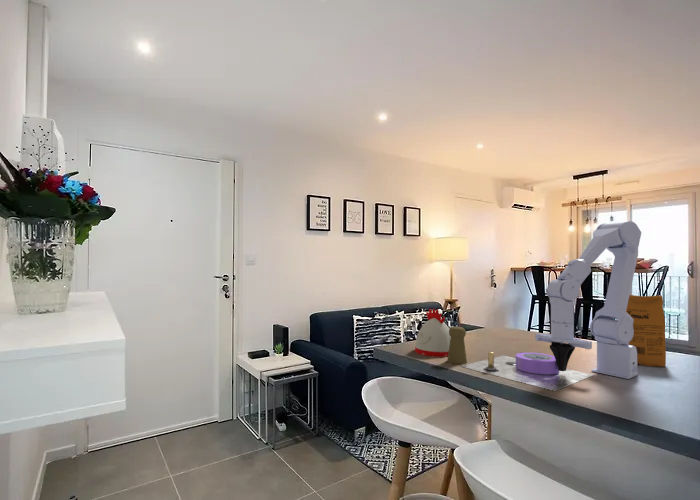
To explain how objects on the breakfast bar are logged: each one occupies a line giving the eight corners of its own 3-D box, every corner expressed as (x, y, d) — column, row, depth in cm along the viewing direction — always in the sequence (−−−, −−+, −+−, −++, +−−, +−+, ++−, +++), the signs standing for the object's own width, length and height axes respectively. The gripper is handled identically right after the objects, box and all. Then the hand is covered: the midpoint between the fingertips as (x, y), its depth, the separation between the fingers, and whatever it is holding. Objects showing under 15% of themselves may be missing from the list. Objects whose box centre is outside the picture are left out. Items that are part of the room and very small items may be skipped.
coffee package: (615, 357, 134) (615, 292, 135) (661, 362, 128) (660, 294, 129) (619, 363, 125) (619, 294, 126) (668, 369, 120) (668, 296, 120)
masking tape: (507, 365, 120) (507, 352, 121) (539, 363, 123) (539, 351, 123) (533, 376, 109) (533, 362, 109) (568, 373, 112) (568, 360, 112)
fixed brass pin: (498, 370, 115) (498, 352, 115) (492, 371, 113) (492, 354, 113) (489, 367, 117) (489, 351, 117) (484, 369, 115) (484, 352, 115)
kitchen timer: (434, 346, 147) (434, 306, 148) (464, 353, 136) (464, 310, 136) (407, 350, 139) (407, 308, 140) (435, 358, 128) (436, 312, 129)
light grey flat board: (594, 375, 111) (594, 374, 111) (554, 391, 97) (554, 390, 97) (503, 355, 134) (503, 355, 134) (459, 366, 119) (459, 365, 119)
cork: (451, 358, 129) (451, 324, 129) (469, 361, 125) (469, 326, 125) (444, 362, 124) (444, 327, 124) (463, 365, 120) (463, 329, 120)
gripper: (530, 319, 114) (530, 366, 114) (584, 326, 103) (584, 379, 102) (541, 318, 119) (541, 363, 118) (594, 324, 107) (595, 374, 107)
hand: (562, 370), depth 111 cm, fingers closed
